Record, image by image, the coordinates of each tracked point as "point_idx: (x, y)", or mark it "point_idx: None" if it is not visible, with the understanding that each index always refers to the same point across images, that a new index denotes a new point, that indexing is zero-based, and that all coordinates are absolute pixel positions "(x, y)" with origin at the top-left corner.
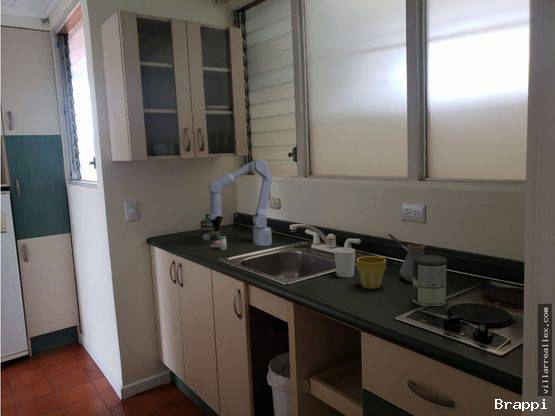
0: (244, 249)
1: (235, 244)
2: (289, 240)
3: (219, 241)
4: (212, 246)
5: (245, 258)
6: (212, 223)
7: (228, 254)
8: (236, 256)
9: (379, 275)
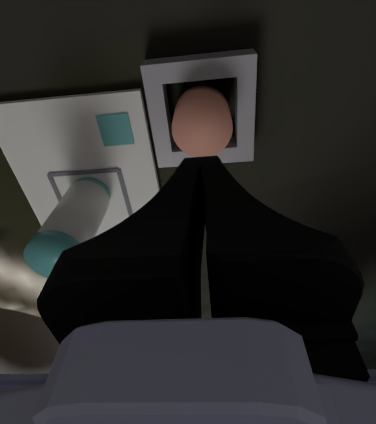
0: None
1: (299, 202)
2: None
3: (185, 152)
4: (144, 84)
5: (8, 305)
6: (130, 217)
7: (36, 232)
8: (19, 272)
9: None
